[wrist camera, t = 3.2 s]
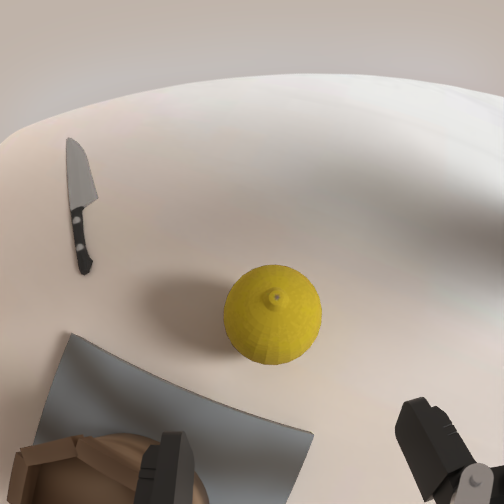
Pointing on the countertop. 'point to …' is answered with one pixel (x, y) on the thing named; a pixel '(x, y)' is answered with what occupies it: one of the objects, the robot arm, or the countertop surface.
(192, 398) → the pot with square base
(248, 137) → the countertop surface
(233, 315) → the lemon
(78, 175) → the chef's knife
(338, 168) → the countertop surface
